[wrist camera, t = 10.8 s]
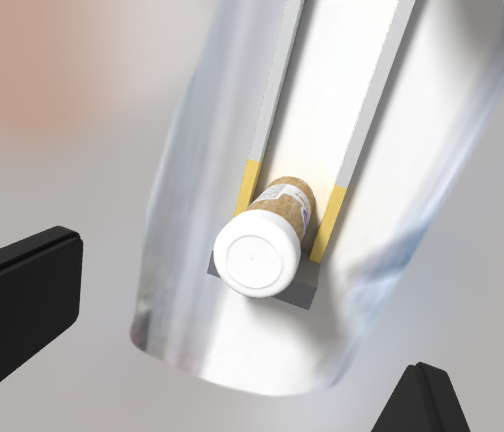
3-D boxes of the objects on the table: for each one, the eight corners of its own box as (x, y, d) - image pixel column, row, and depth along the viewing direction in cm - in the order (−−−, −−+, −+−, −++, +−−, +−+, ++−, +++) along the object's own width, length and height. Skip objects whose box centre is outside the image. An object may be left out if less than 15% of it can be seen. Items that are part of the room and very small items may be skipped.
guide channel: (314, -93, 23) (307, -160, 17) (439, -72, 22) (474, -138, 16) (229, 246, 32) (207, 273, 27) (314, 275, 31) (308, 310, 25)
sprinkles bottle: (321, 216, 29) (309, 291, 17) (274, 230, 30) (229, 308, 18) (305, 167, 28) (278, 207, 16) (256, 184, 30) (197, 233, 17)
